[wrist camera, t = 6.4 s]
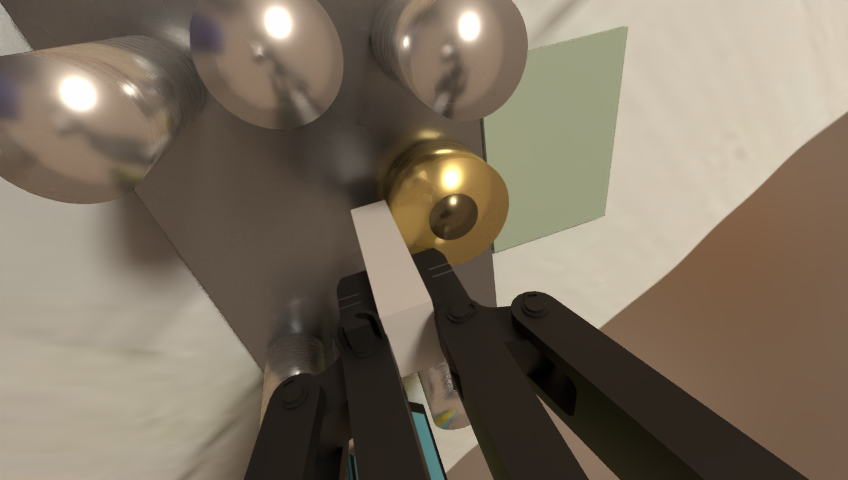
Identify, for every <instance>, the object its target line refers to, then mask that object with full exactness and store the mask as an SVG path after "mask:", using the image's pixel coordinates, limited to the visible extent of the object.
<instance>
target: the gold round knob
mask: <svg viewBox="0 0 848 480" xmlns="http://www.w3.org/2000/svg"><path fill="white" fill-rule="evenodd" d="M382 200H385V201H386V204H387V206H388V208H389V210H390V212H391V214H392V216H393V219H394V221H395V223H396V225H397V227H398V229H399V231H400V234H401V236H402V238H403V240H404V242H405V244H406V246H407V249H408V251H409V253H410V255H412V254H415V253H418V252H421V251H424V250H427V249H431V248H435V249H436V250H438V251H440V252H442V253H443V254H444V256H445V257H446V259H447V261H448V263H449V264H450V266H456V265H459V264H462V263H465V262H467V261H469V260H471V259H473V258H475V257H476V256H478V255H479V254H481V253H482V252H483V251H484V250H486V249H487V248H488V247H489V246H490V245H491V244H492V243H493V242H494V240H495V239H496V238H497V236H498V235H499V233H500V232H501V230H502V228H503V226H504V224H505V221H506V218H507V214H508V209H509V195H508V190H507V187H506V184H505V182H504V180H503V178H502V177H501V176H500V174H499V173H498V172H497V171H496V170H495V169H494V168H493V167H491V166H490V165H489V164H488V163H486V162H485V161H484V160H483V159H481V158H480V157H479V156H478V155H476V154H475V153H474V152H472V151H471V150H470V149H468V148H467V147H466V146H463V145H461V144H459V143H456V142H453V141H447V140H438V141H431V142H427V143H423V144H421V145H418V146H416V147H415V148H413V149H411V150H409V151H408V152H407V153H405V154H404V155H403V156H402V157H401V158H400V159H399V160H398V161H397V162H396V163H395V164H394V166H393V167H392V169H391V170H390V172H389V174H388V176H387V178H386V181H385V184H384V188H383V197H382Z"/></svg>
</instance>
